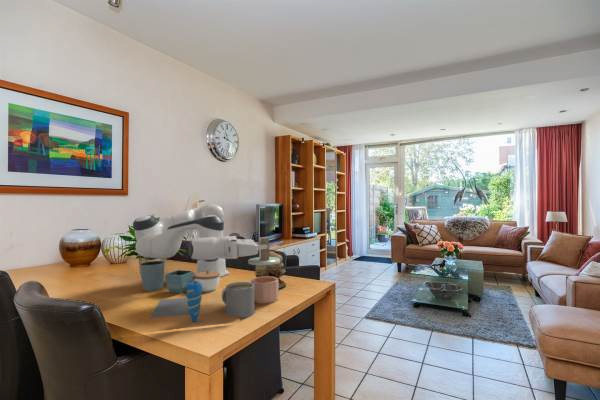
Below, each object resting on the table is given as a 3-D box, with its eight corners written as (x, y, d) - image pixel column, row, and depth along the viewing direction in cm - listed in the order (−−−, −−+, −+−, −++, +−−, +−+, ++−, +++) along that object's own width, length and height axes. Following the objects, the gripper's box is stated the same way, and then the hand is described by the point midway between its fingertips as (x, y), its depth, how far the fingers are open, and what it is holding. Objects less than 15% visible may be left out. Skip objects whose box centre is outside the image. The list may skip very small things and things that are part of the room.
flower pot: (164, 294, 131) (164, 274, 131) (178, 289, 140) (177, 269, 140) (181, 296, 129) (181, 275, 129) (194, 290, 137) (194, 270, 137)
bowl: (249, 296, 128) (249, 277, 128) (275, 294, 131) (275, 275, 131) (252, 304, 117) (252, 284, 117) (280, 302, 120) (280, 282, 120)
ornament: (182, 324, 99) (182, 278, 99) (195, 319, 104) (195, 275, 104) (192, 327, 96) (192, 280, 96) (205, 322, 101) (205, 277, 101)
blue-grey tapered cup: (165, 289, 140) (165, 263, 140) (140, 292, 135) (140, 265, 135) (163, 284, 148) (163, 259, 149) (140, 287, 143) (139, 262, 144)
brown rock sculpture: (276, 282, 151) (276, 247, 152) (292, 286, 143) (292, 250, 143) (246, 289, 138) (246, 252, 138) (263, 295, 130) (263, 255, 130)
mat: (160, 301, 122) (160, 299, 122) (201, 298, 126) (201, 296, 126) (149, 320, 103) (149, 318, 103) (198, 315, 107) (198, 313, 107)
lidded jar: (212, 295, 130) (212, 273, 130) (190, 294, 132) (190, 272, 132) (224, 288, 141) (223, 268, 141) (202, 287, 143) (202, 267, 143)
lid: (246, 260, 129) (246, 236, 129) (276, 258, 132) (276, 235, 132) (249, 266, 116) (249, 240, 116) (283, 264, 120) (282, 238, 120)
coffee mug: (260, 312, 109) (259, 285, 109) (237, 321, 102) (237, 291, 102) (237, 304, 118) (237, 278, 118) (215, 311, 110) (214, 284, 111)
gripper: (230, 251, 131) (262, 249, 135) (233, 259, 111) (270, 257, 115) (230, 236, 131) (262, 235, 135) (232, 242, 111) (270, 240, 115)
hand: (266, 245), depth 124 cm, fingers closed on lid, 3 cm apart
